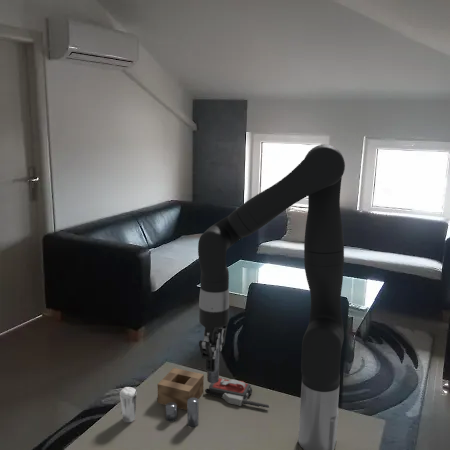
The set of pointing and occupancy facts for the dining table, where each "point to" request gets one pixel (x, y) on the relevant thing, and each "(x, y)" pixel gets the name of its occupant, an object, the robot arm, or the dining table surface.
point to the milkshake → (128, 403)
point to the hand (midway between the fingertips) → (213, 367)
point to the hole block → (180, 387)
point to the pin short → (171, 411)
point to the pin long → (214, 376)
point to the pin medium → (192, 412)
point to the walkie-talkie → (233, 392)
